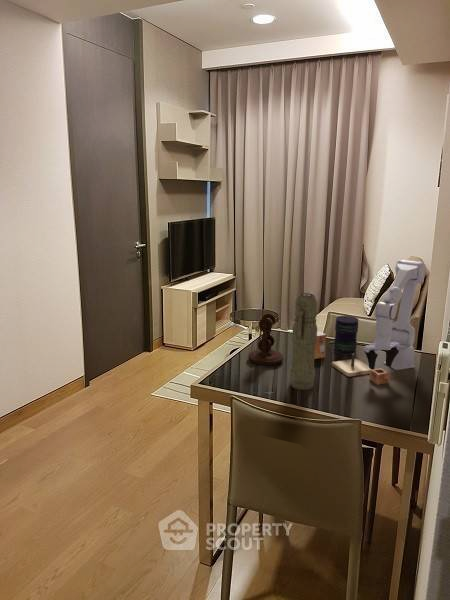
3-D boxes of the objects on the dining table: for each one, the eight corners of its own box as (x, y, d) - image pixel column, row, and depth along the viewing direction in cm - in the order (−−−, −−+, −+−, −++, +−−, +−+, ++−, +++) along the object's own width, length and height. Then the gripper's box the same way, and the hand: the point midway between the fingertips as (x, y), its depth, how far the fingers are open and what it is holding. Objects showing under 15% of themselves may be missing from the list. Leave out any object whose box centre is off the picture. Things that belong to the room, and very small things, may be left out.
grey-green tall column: (285, 389, 172) (290, 297, 163) (294, 377, 182) (298, 290, 173) (309, 393, 168) (315, 300, 160) (317, 381, 179) (322, 292, 170)
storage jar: (358, 354, 206) (361, 322, 202) (336, 354, 206) (338, 322, 202) (352, 346, 216) (355, 315, 212) (331, 346, 216) (333, 315, 212)
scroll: (252, 353, 207) (253, 309, 202) (285, 356, 203) (287, 312, 198) (244, 365, 193) (245, 319, 188) (279, 369, 189) (281, 322, 184)
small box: (310, 360, 199) (311, 337, 197) (302, 356, 204) (303, 333, 201) (325, 357, 203) (326, 334, 200) (317, 353, 208) (318, 330, 205)
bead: (379, 377, 183) (380, 367, 182) (388, 382, 178) (389, 372, 177) (369, 379, 181) (370, 369, 180) (377, 384, 177) (378, 374, 176)
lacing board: (356, 361, 198) (357, 347, 196) (373, 372, 187) (375, 357, 185) (331, 365, 194) (332, 350, 192) (348, 376, 183) (349, 361, 182)
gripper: (373, 338, 169) (370, 373, 172) (406, 335, 174) (402, 369, 177) (362, 332, 175) (359, 366, 179) (393, 329, 180) (390, 362, 183)
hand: (379, 367), depth 178 cm, fingers open, 7 cm apart
